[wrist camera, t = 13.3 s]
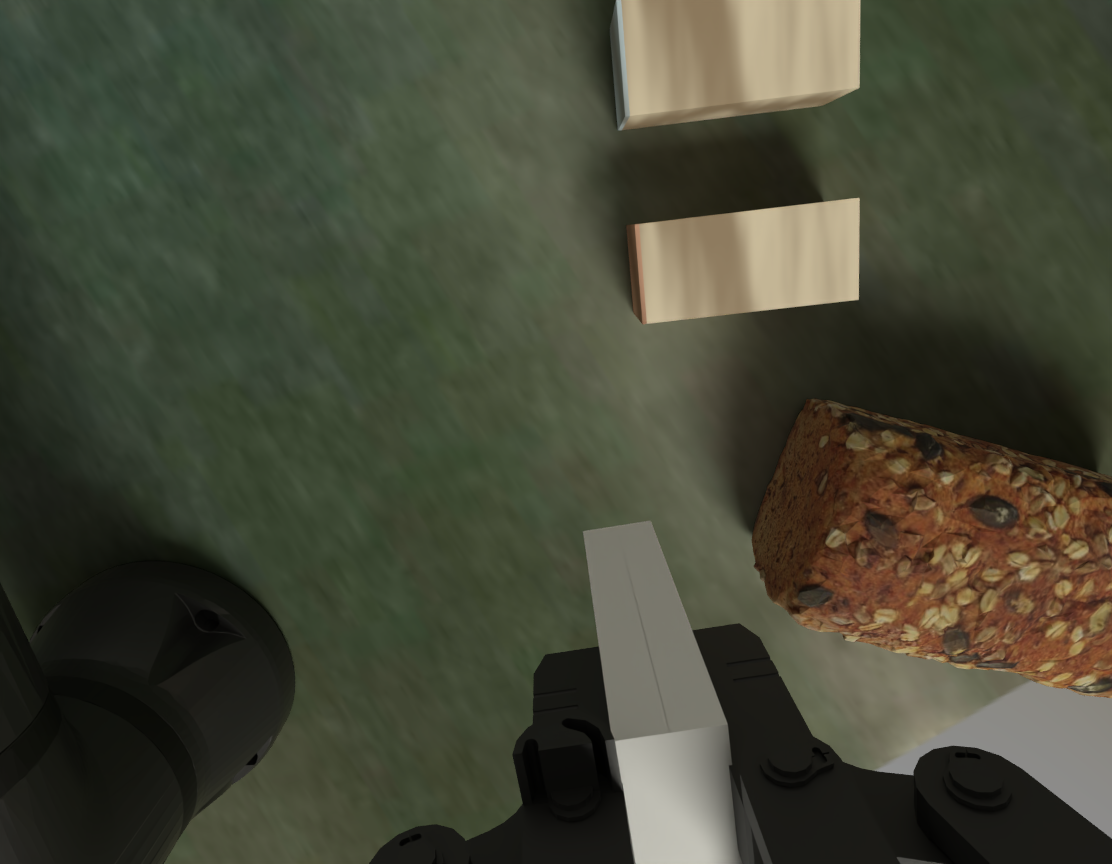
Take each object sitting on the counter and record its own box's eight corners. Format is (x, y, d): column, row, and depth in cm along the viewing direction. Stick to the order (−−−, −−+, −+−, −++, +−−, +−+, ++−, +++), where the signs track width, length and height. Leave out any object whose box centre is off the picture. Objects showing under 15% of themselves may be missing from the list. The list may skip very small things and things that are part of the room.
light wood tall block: (642, 324, 32) (858, 299, 32) (634, 224, 31) (859, 197, 31) (633, 313, 37) (823, 291, 36) (626, 225, 36) (823, 201, 35)
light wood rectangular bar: (625, 116, 30) (859, 87, 30) (616, -1, 29) (860, -33, 28) (617, 130, 34) (821, 105, 34) (609, 29, 33) (821, 1, 33)
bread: (735, 547, 41) (788, 645, 31) (803, 375, 38) (884, 425, 28) (1027, 625, 42) (1164, 743, 32) (1114, 465, 39) (1293, 542, 29)
